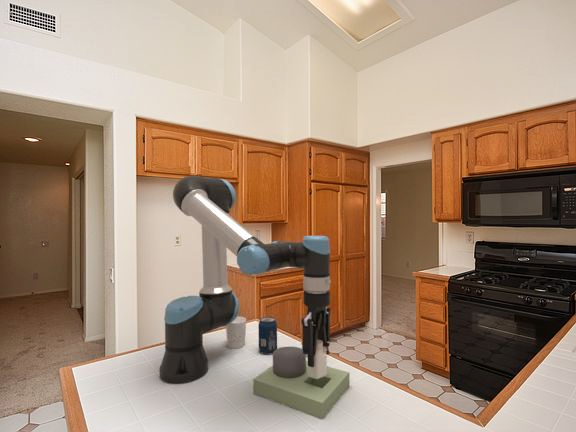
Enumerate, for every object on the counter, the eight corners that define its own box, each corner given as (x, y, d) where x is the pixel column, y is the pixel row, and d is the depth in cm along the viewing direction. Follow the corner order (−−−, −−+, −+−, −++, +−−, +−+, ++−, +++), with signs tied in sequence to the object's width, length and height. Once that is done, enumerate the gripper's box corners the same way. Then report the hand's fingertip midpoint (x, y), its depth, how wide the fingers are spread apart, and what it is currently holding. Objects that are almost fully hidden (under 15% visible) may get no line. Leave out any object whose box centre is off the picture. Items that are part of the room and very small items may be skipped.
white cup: (250, 343, 125) (250, 318, 125) (237, 350, 118) (236, 324, 118) (235, 339, 129) (235, 315, 129) (221, 346, 123) (221, 320, 123)
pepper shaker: (317, 380, 86) (316, 345, 86) (307, 374, 89) (307, 341, 89) (327, 375, 89) (327, 342, 89) (317, 370, 92) (317, 337, 92)
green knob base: (253, 393, 90) (252, 361, 90) (287, 367, 105) (286, 340, 105) (322, 419, 78) (322, 382, 78) (349, 385, 93) (349, 355, 93)
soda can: (264, 346, 123) (264, 315, 123) (280, 349, 120) (280, 317, 120) (255, 352, 116) (254, 320, 116) (271, 356, 113) (271, 323, 113)
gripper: (313, 299, 80) (314, 391, 79) (341, 286, 95) (341, 363, 94) (288, 295, 84) (289, 383, 84) (318, 283, 99) (319, 357, 99)
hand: (317, 372), depth 89 cm, fingers closed on pepper shaker, 5 cm apart
